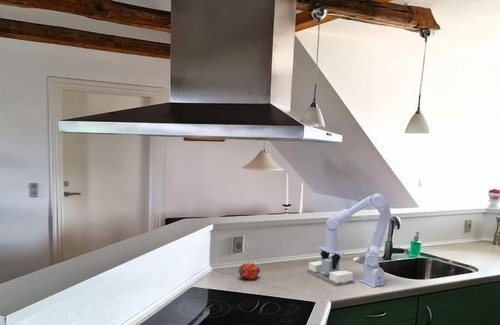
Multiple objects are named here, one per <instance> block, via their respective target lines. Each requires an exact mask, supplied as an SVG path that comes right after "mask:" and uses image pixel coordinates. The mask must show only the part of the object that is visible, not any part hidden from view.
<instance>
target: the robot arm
mask: <svg viewBox="0 0 500 325" xmlns="http://www.w3.org/2000/svg"><path fill="white" fill-rule="evenodd" d="M372 207H374V208H375V209H376V210H377V211H378V213H379V217H378V220H377V224H376V227H375V230H374V233H373V236H372V239H371V242H370V244H369V248H368V249H367V250H366V251H365V253H364V257H365V258H364V262H363V272H362V273H363V274H362V275H363V276H362V278H361V279H359V280H358V281H359V282H361V283H363V284H364V285H366V286H367V285H368V286H370V287H372V288H375V287H382V286H385V271H384V269H383V268H382V267H380V264H379V263H380V262H379V260H380V259H379V256H380V250H381V248H382V244H383V241H384V237H385V235H386V231H387V228H388V225H389V222H390V219H391V216H392V212H391V209H390V206H389V203H388V201H387V199H386V198H385V197H384V195H383V194H382V193H380V192H376V193H374V194H372V195H369V196H367V197H365V198H363V199H362V200H360V201H359V202H358V203H356V204H354V205H353V206H351V207H350V208H348V209H347V208H343V209H342V208H340V210H339V212H337V213H336V214H332V215H331V216H330V217H329V218H327V219H326V223H325V226H326V229H325V244H324V246H321V245H320V246H318V247H317V251H319V252H320V251H321V252H320V256H321V258H322V259H321V260H323V259H327V258H330V254H331V257H332V262H333V265H332V268H333V269H336V267H337V264H338V261H339V259H341V258H344V257H345V252H343V251H341V250H339V249H338V248H337V247H338V226H340V225H341V226H342V225H343V224H344V223H346V222H348V221H350V220H351V219H352V216H353V215H354V214H355V213H358V212H360V211H362V210H363V209H365V208H372Z"/></svg>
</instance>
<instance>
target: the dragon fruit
mask: <svg viewBox="0 0 500 325" xmlns="http://www.w3.org/2000/svg"><path fill="white" fill-rule="evenodd" d="M260 272H261V269H260V268H259V267H258V266H257V265H255V264H254V263H253V262H252V263H250V262H247V263H242V264H241V265H240V267H239V268H238V274H239V277H240V278H243V279H244V280H246V279H247V280H249V281H251V279H252V280H255V279H257V276H259V274H260Z"/></svg>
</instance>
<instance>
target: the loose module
mask: <svg viewBox="0 0 500 325" xmlns="http://www.w3.org/2000/svg"><path fill="white" fill-rule="evenodd" d="M340 259H341V258H340ZM340 259H339V261H338V264H337V267H336V269H333V268H332V265H333V262H332V256H331V257H329V258H327V259H321V261H322V269H321V272H324V273H328V274H330V272H334V271H340Z"/></svg>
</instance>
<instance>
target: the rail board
mask: <svg viewBox="0 0 500 325" xmlns="http://www.w3.org/2000/svg"><path fill="white" fill-rule="evenodd" d="M321 269H322V260H317V261H312V262H311V261H310V262H308V269H307V270H306V273H309V274H311V275H312V276H314V277H316V278H318V279H320V280H322V281H324V282H326V283H328V284H329V285H332V286H334V287H339V286H344V285H349V284H354V283H355V280H353V277H354V272H351V271H349V270H346V269H343V270H339V271H334V272H330V274H328V273H324V272H321Z"/></svg>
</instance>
